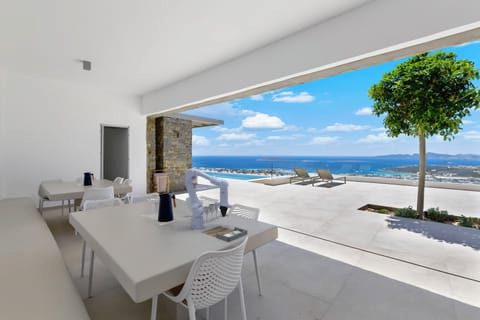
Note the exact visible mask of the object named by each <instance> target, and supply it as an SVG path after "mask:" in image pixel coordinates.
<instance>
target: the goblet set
mask: <svg viewBox="0 0 480 320" xmlns="http://www.w3.org/2000/svg"><path fill="white" fill-rule="evenodd" d="M218 202H219V203H220V201H218ZM216 203H217V202H214V203H209V204H208V206H203V207H204V213H203V214H205V216H206V218H208V215H209V214H211V216H213V213H214V211H215V215H216V217H215V218H214V219H209V220H206V221H203V224H208V223H210V222H215V219H216V221H218V220H219V219H223V218H222V216H219V217H220V218H219V217H218V216H217V215H218V210H219V207H220V206H218V205H216ZM218 218H219V219H218ZM217 219H218V220H217Z"/></svg>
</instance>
